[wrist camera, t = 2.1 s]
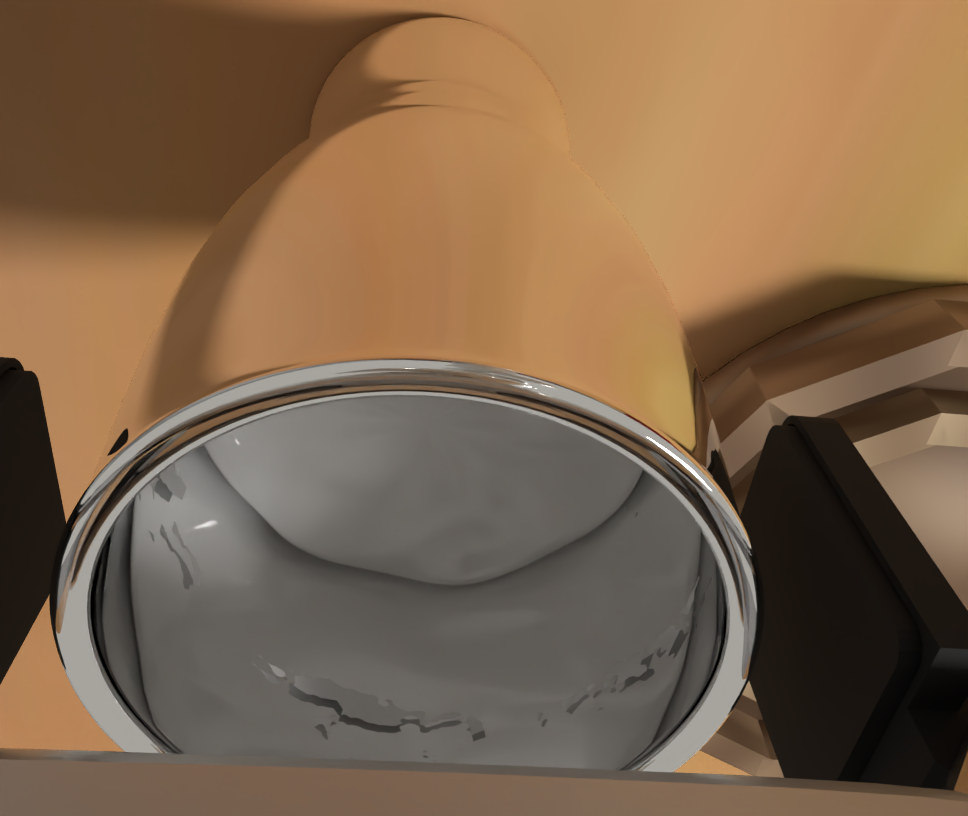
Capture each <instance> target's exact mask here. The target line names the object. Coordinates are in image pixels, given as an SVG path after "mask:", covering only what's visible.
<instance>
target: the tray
mask: <svg viewBox="0 0 968 816" xmlns="http://www.w3.org/2000/svg"><path fill="white" fill-rule="evenodd" d="M703 385H704V388H705V391H706V395H707V398H708V402H709V405H710V409H711V412H712V415H713V419H714V422H715V426H716V429H717V432H718V436H719V440H720V443H721V447H722V451H723V455H724V459H725V463H726V467H727V471H728V475H729V479H730V482H731V486H732V490H733V494H734V497H735V501H736V504H737V507H738V511H739V514H740V515H741V512H742V509H743V506H744V503H745V500H746V497H747V494H748V491H749V488H750V485H751V482H752V479H753V476H754V473H755V470H756V467H757V464H758V461H759V458H760V455H761V452H762V449H763V446H764V443H765V440H766V437H767V435H768V432H769V430H770V429H771V428H772V426H774V425H782V424H783V422H784V421H785V419H786V418H787V417H789V416H791V415H795V416H809V417H822V418H832V419H835V420H836V421H837V422H838V423H839V424H840V425H841V427H842V428H843V430H844V431H845V433H846V434H847V435H848V437H849V438H850V440H851V441H852V443H853V444H854V446H855V447H856V449H857V450H858V451H859V453H860V454H861V456H862V457H863V459H864V460H865V462H866V463H867V465H868V466H869V468H870V469H871V470H872V472H873V473H874V475H875V476H876V478H877V479H878V481H879V482H880V484H881V485H882V486H883V488H884V489H885V491H886V492H887V494H888V495H889V497H890V498H891V500H892V501H893V503H894V504H895V505H896V507H897V508H898V510H899V511H900V513H901V514H902V516H903V517H904V519H905V520H906V521H907V523H908V524H909V526H910V527H911V529H912V530H913V532H914V533H915V535H916V536H917V538H918V539H919V540H920V542H921V543H922V545H923V546H924V548H925V549H926V551H927V552H928V554H929V555H930V556H931V558H932V559H933V561H934V562H935V564H936V565H937V567H938V568H939V570H940V571H941V573H942V574H943V575H944V577H945V578H946V580H947V581H948V583H949V584H950V586H951V587H952V589H953V590H954V591H955V593H956V594H957V596H958V597H959V599H960V600H961V602H962V603H963V605H964V606H965V608H966V609H967V610H968V285H953V286H942V287H931V288H920V289H913V290H908V291H903V292H898V293H893V294H888V295H883V296H879V297H874V298H869V299H866V300H863V301H860V302H857V303H853V304H850V305H847V306H844V307H841V308H838V309H834V310H831V311H828V312H825V313H823V314H820V315H818V316H816V317H813V318H811V319H809V320H806V321H804V322H802V323H800V324H797V325H795V326H793V327H790V328H788V329H786V330H783V331H781V332H780V333H778V334H776V335H774V336H772V337H771V338H769V339H767V340H765V341H763V342H762V343H760V344H758V345H756V346H755V347H753V348H751V349H749V350H747V351H746V352H744V353H742V354H741V355H739V356H738V357H737V358H735V359H734V360H732V361H731V362H729V363H728V364H727V365H725V366H724V367H722V368H721V369H720V370H718V371H717V372H715V373H714V374H712V375H711V376H710V377H708V378H707V379H706V380H705V381H703ZM700 751H702V752H704V753H707V754H709V755H711V756H713V757H715V758H717V759H719V760H721V761H723V762H726V763H728V764H730V765H732V766H734V767H736V768H738V769H740V770H742V771H745V772H747V773H749V774H751V775H753V776H761V777H778V778H784V776H783V773H782V770H781V767H780V765H779V762H778V759H777V756H776V754H775V751H774V748H773V745H772V743H771V740H770V737H769V734H768V732H767V729H766V726H765V723H764V721H763V718H762V715H761V712H760V710H759V707H758V704H757V701H756V698H755V696H754V693H753V690H752V687H751V685H750V682H749V681H748V683H747V685H746V687H745V690H744V692H743V694H742V695H741V697H740V699H739V701H738V703H737V704H736V706H735V707H734V709H733V711H732V712H731V714H730V715H729V716H728V718H727V719H726V720H725V722H724V723H723V724H722V726H721V727H720V728H719V729H718V731H717V732H716V733H715V734H714V735H713V736H712V737H711V739H710V740H709V741H708V742H707V743H706V744H705V745H704V746H703V747H702V748H701V749H700Z"/></svg>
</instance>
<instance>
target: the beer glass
mask: <svg viewBox="0 0 968 816" xmlns="http://www.w3.org/2000/svg"><path fill="white" fill-rule="evenodd" d="M49 601H50V616H51V625H52V630H53V636H54V640H55V644H56V648H57V651H58V654H59V657H60V660H61V662H62V665H63V667H64V670H65V672H66V675H67V677H68V679H69V681H70V683H71V685H72V687H73V689H74V690H75V692H76V694H77V696H78V697H79V699H80V700H81V702H82V703H83V705H84V707H85V708H86V709H87V711H88V712H89V713H90V715H91V716H92V718H93V719H94V720H95V721H96V723H97V724H98V725H99V726H100V727H101V729H102V730H103V731H104V732H105V733H106V734H107V735H108V736H109V737H110V738H111V739H112V740H113V741H114V742H115V743H116V744H117V745H118V746H119V747H120V748H121V749H122V750H123V751H124V752H141V753H172V754H204V755H235V756H266V757H293V758H321V759H348V760H376V761H403V762H430V763H456V764H482V765H508V766H534V767H558V768H581V769H604V770H628V771H651V772H675V771H676V770H677V769H678V768H680V767H681V766H682V765H683V764H685V763H686V762H687V761H688V760H689V759H690V758H692V757H693V756H694V755H695V754H696V753H697V752H698V751H699V750H700V749H701V748H702V747H703V746H704V745H705V744H706V743H707V742H708V741H709V740H710V739H711V737H712V736H713V735H714V734H715V733H716V732H717V731H718V729H719V728H720V727H721V726H722V724H723V723H724V722H725V720H726V719H727V718H728V716H729V715H730V714H731V712H732V711H733V709H734V707H735V706H736V704H737V703H738V701H739V699H740V697H741V695H742V694H743V692H744V690H745V687H746V685H747V683H748V681H749V679H750V676H751V674H752V672H753V669H754V666H755V663H756V660H757V657H758V653H759V649H760V645H761V640H762V634H763V626H764V591H763V582H762V576H761V571H760V567H759V563H758V559H757V556H756V553H755V550H754V547H753V544H752V542H751V539H750V537H749V534H748V532H747V530H746V528H745V526H744V524H743V522H742V520H741V518H740V514H739V511H738V507H737V504H736V501H735V497H734V494H733V490H732V486H731V482H730V479H729V475H728V471H727V467H726V463H725V459H724V455H723V451H722V447H721V443H720V440H719V436H718V432H717V429H716V426H715V422H714V419H713V415H712V412H711V409H710V405H709V402H708V398H707V395H706V391H705V388H704V385H703V381H702V378H701V375H700V372H699V369H698V366H697V363H696V361H695V358H694V355H693V353H692V350H691V347H690V345H689V342H688V339H687V337H686V334H685V331H684V329H683V326H682V323H681V321H680V318H679V315H678V313H677V310H676V308H675V305H674V303H673V301H672V299H671V297H670V295H669V293H668V291H667V289H666V287H665V285H664V283H663V281H662V279H661V278H660V276H659V274H658V272H657V270H656V268H655V266H654V264H653V262H652V261H651V259H650V257H649V255H648V253H647V251H646V249H645V247H644V246H643V244H642V242H641V240H640V239H639V237H638V235H637V234H636V232H635V230H634V229H633V228H632V226H631V225H630V223H629V222H628V220H627V219H626V218H625V217H624V215H623V214H622V213H621V211H620V210H619V209H618V208H617V207H616V206H615V204H614V203H613V202H612V201H611V200H610V198H609V197H608V196H607V195H606V194H605V192H604V191H603V190H602V189H601V188H600V187H599V185H598V184H597V183H596V182H595V181H594V180H593V178H592V177H591V176H590V175H589V174H588V173H587V172H586V171H585V170H584V169H583V168H582V167H581V166H580V165H579V164H578V163H577V162H575V161H574V160H573V159H572V158H571V157H570V138H569V130H568V124H567V119H566V115H565V112H564V108H563V106H562V103H561V100H560V98H559V96H558V94H557V92H556V90H555V88H554V86H553V85H552V83H551V81H550V80H549V78H548V77H547V75H546V74H545V73H544V71H543V70H542V69H541V67H540V66H539V65H538V64H537V63H536V62H535V60H534V59H533V58H532V57H531V56H530V55H529V54H528V53H527V52H526V51H525V50H523V49H522V48H521V47H520V46H519V45H517V44H516V43H515V42H513V41H512V40H511V39H509V38H508V37H506V36H504V35H503V34H501V33H499V32H497V31H495V30H493V29H491V28H488V27H486V26H483V25H481V24H478V23H475V22H471V21H467V20H462V19H456V18H447V17H427V18H418V19H412V20H408V21H404V22H400V23H397V24H394V25H391V26H389V27H386V28H384V29H382V30H380V31H378V32H376V33H374V34H372V35H371V36H369V37H367V38H366V39H364V40H363V41H361V42H360V43H359V44H357V45H356V46H355V47H354V48H353V49H351V50H350V51H349V52H348V53H347V54H346V55H345V56H344V57H343V58H342V59H341V61H340V62H339V63H338V64H337V65H336V67H335V68H334V69H333V71H332V72H331V74H330V75H329V77H328V78H327V80H326V82H325V84H324V85H323V87H322V89H321V92H320V94H319V96H318V99H317V102H316V104H315V108H314V111H313V115H312V119H311V125H310V135H309V138H308V139H307V140H305V141H304V142H302V143H301V144H299V145H298V146H297V147H295V148H294V149H292V150H291V151H290V152H289V153H287V154H286V155H285V156H284V157H283V158H281V159H280V160H279V161H278V162H277V163H276V164H275V165H274V166H273V167H271V168H270V169H269V170H268V171H267V172H266V173H265V174H264V175H263V176H261V177H260V178H259V179H258V180H257V181H256V182H255V183H254V184H253V185H252V186H250V187H249V188H248V189H247V190H246V191H245V192H244V193H243V194H242V195H241V196H240V197H239V198H238V199H237V201H236V202H235V203H234V204H233V205H232V206H231V207H230V209H229V210H228V211H227V213H226V214H225V215H224V217H223V218H222V219H221V221H220V222H219V224H218V225H217V226H216V228H215V229H214V231H213V232H212V233H211V235H210V236H209V238H208V239H207V241H206V242H205V243H204V245H203V246H202V248H201V249H200V251H199V252H198V253H197V255H196V256H195V258H194V259H193V261H192V262H191V263H190V265H189V266H188V268H187V269H186V271H185V273H184V274H183V276H182V278H181V280H180V281H179V283H178V285H177V287H176V289H175V291H174V293H173V295H172V297H171V299H170V301H169V302H168V304H167V306H166V308H165V310H164V312H163V314H162V316H161V318H160V320H159V322H158V323H157V325H156V327H155V329H154V331H153V333H152V335H151V337H150V339H149V341H148V343H147V345H146V347H145V350H144V352H143V354H142V357H141V359H140V361H139V364H138V366H137V368H136V371H135V373H134V375H133V378H132V380H131V382H130V385H129V387H128V389H127V392H126V394H125V396H124V399H123V401H122V404H121V406H120V408H119V411H118V413H117V416H116V418H115V421H114V423H113V426H112V429H111V431H110V434H109V436H108V439H107V441H106V444H105V447H104V449H103V452H102V454H101V457H100V459H99V462H98V464H97V467H96V469H95V471H94V474H93V476H92V479H91V481H90V483H89V486H88V488H87V489H86V491H85V492H84V494H83V495H82V497H81V498H80V500H79V501H78V503H77V505H76V506H75V508H74V510H73V512H72V514H71V515H70V517H69V519H68V521H67V524H66V526H65V528H64V531H63V533H62V536H61V538H60V541H59V544H58V547H57V551H56V555H55V558H54V564H53V569H52V574H51V583H50V599H49Z"/></svg>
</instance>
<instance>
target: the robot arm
mask: <svg viewBox="0 0 968 816" xmlns="http://www.w3.org/2000/svg"><path fill="white" fill-rule="evenodd" d="M740 518H741V520H742V522H743V524H744V526H745V528H746V530H747V532H748V534H749V537H750V539H751V542H752V544H753V547H754V550H755V553H756V556H757V559H758V563H759V567H760V571H761V576H762V582H763V591H764V626H763V634H762V640H761V645H760V649H759V653H758V657H757V660H756V663H755V666H754V669H753V672H752V674H751V676H750V679H749V682H750V685H751V687H752V690H753V693H754V696H755V698H756V701H757V704H758V707H759V710H760V712H761V715H762V718H763V721H764V723H765V726H766V729H767V732H768V734H769V737H770V740H771V743H772V745H773V748H774V751H775V754H776V756H777V759H778V762H779V765H780V767H781V770H782V773H783V776H784V778H778V777H761V776H745V775H721V774H698V773H675V772H651V771H628V770H604V769H581V768H558V767H534V766H508V765H482V764H456V763H430V762H403V761H376V760H348V759H321V758H293V757H266V756H235V755H204V754H172V753H141V752H109V751H78V750H46V749H5V748H0V816H968V610H967V609H966V608H965V606H964V605H963V603H962V602H961V600H960V599H959V597H958V596H957V594H956V593H955V591H954V590H953V589H952V587H951V586H950V584H949V583H948V581H947V580H946V578H945V577H944V575H943V574H942V573H941V571H940V570H939V568H938V567H937V565H936V564H935V562H934V561H933V559H932V558H931V556H930V555H929V554H928V552H927V551H926V549H925V548H924V546H923V545H922V543H921V542H920V540H919V539H918V538H917V536H916V535H915V533H914V532H913V530H912V529H911V527H910V526H909V524H908V523H907V521H906V520H905V519H904V517H903V516H902V514H901V513H900V511H899V510H898V508H897V507H896V505H895V504H894V503H893V501H892V500H891V498H890V497H889V495H888V494H887V492H886V491H885V489H884V488H883V486H882V485H881V484H880V482H879V481H878V479H877V478H876V476H875V475H874V473H873V472H872V470H871V469H870V468H869V466H868V465H867V463H866V462H865V460H864V459H863V457H862V456H861V454H860V453H859V451H858V450H857V449H856V447H855V446H854V444H853V443H852V441H851V440H850V438H849V437H848V435H847V434H846V433H845V431H844V430H843V428H842V427H841V425H840V424H839V423H838V422H837V421H836V420H835V419H832V418H822V417H809V416H795V415H791V416H789V417H787V418H786V419H785V421H784V422H783V424H782V425H774V426H772V428H771V429H770V430H769V432H768V435H767V437H766V440H765V443H764V446H763V449H762V452H761V455H760V458H759V461H758V464H757V467H756V470H755V473H754V476H753V479H752V482H751V485H750V488H749V491H748V494H747V497H746V500H745V503H744V506H743V509H742V512H741V515H740ZM65 526H66V520H65V515H64V510H63V505H62V500H61V494H60V489H59V484H58V479H57V474H56V468H55V463H54V458H53V453H52V448H51V443H50V437H49V432H48V427H47V422H46V417H45V412H44V406H43V401H42V396H41V391H40V386H39V382H38V378H37V376H36V375H35V373H33V372H32V371H24V369H23V366H22V365H21V363H20V361H18V360H17V359H15V358H4V357H0V684H1V682H2V681H3V679H4V677H5V675H6V673H7V671H8V669H9V668H10V666H11V664H12V662H13V660H14V658H15V657H16V655H17V653H18V651H19V649H20V647H21V646H22V644H23V642H24V640H25V638H26V636H27V634H28V633H29V631H30V629H31V627H32V625H33V623H34V622H35V620H36V618H37V616H38V614H39V612H40V610H41V609H42V607H43V605H44V603H45V601H46V599H47V598H48V596H49V594H50V583H51V574H52V569H53V564H54V558H55V555H56V551H57V547H58V544H59V541H60V538H61V536H62V533H63V531H64V528H65Z"/></svg>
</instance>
